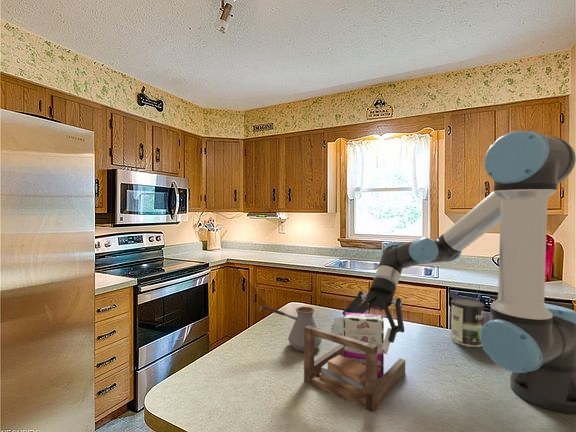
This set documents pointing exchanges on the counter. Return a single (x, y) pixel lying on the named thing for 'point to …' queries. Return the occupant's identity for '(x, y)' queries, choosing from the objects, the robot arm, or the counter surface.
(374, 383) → the offcut rack
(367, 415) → the counter surface
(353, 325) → the candy bar box
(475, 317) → the coffee can
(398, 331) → the robot arm
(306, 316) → the coffee pot
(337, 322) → the stone slab
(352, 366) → the offcut stack
